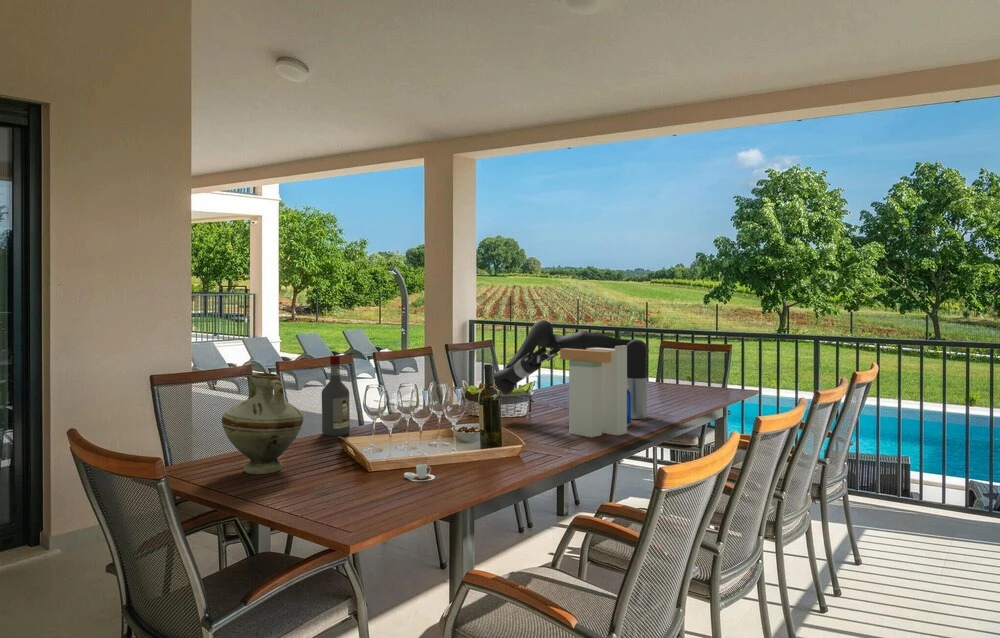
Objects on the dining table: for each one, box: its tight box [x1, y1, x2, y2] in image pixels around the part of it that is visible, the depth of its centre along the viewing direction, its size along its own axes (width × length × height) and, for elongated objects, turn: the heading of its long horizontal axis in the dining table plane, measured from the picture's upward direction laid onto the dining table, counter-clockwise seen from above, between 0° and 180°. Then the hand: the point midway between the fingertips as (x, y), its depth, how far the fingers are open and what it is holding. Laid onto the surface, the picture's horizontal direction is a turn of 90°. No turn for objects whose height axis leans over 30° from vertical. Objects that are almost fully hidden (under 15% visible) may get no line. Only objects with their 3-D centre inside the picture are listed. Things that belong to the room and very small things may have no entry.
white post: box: [586, 345, 628, 436], centre depth 278 cm, size 15×6×34 cm, turn 44°
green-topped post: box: [568, 360, 603, 438], centre depth 274 cm, size 11×6×28 cm, turn 44°
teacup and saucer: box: [403, 463, 436, 482], centre depth 212 cm, size 9×8×4 cm
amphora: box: [221, 372, 304, 475], centre depth 221 cm, size 24×24×30 cm
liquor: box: [321, 355, 351, 437], centre depth 277 cm, size 9×9×30 cm
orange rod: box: [559, 348, 611, 363], centre depth 273 cm, size 22×4×4 cm, turn 44°
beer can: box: [627, 386, 632, 428], centre depth 291 cm, size 8×8×16 cm
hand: (552, 347), depth 285 cm, fingers open, 8 cm apart
